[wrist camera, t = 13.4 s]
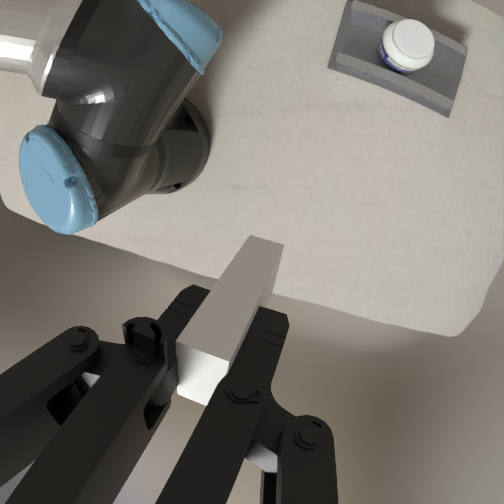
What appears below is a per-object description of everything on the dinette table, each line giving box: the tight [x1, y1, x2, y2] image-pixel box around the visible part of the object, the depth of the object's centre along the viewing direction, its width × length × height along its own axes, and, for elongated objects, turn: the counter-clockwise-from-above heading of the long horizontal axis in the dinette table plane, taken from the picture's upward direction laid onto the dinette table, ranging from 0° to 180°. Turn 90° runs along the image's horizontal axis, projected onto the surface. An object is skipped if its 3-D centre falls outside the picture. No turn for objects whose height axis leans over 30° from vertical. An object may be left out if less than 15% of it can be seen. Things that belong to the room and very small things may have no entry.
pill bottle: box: [378, 19, 435, 74], centre depth 23 cm, size 5×5×10 cm
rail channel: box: [327, 0, 467, 118], centre depth 26 cm, size 16×10×4 cm, turn 76°
